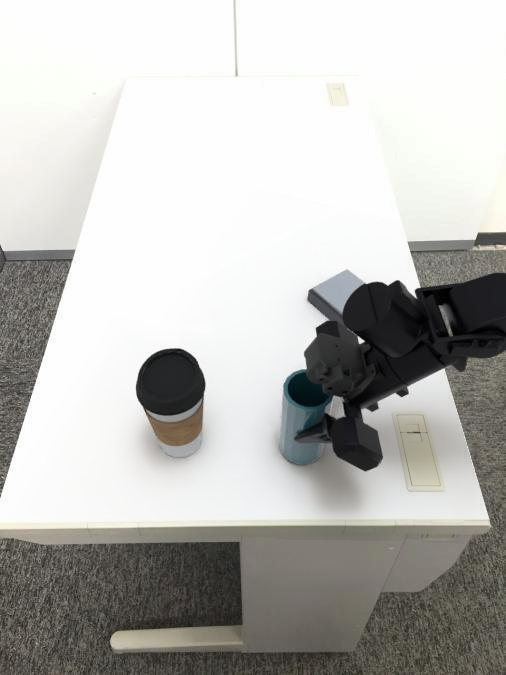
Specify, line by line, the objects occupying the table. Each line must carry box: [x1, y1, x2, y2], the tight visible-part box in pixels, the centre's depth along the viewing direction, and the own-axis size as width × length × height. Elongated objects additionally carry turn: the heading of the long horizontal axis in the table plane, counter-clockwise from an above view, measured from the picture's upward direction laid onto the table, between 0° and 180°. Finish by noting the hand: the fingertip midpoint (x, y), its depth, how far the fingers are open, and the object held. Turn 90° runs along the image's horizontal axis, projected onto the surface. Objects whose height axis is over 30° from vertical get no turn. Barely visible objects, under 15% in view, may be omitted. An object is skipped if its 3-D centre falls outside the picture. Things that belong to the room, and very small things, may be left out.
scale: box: [306, 269, 366, 329], centre depth 90 cm, size 9×9×3 cm
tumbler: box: [279, 368, 335, 465], centre depth 68 cm, size 6×6×13 cm
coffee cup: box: [135, 347, 207, 459], centre depth 68 cm, size 8×8×15 cm
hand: (294, 418), depth 68 cm, fingers closed on tumbler, 6 cm apart
